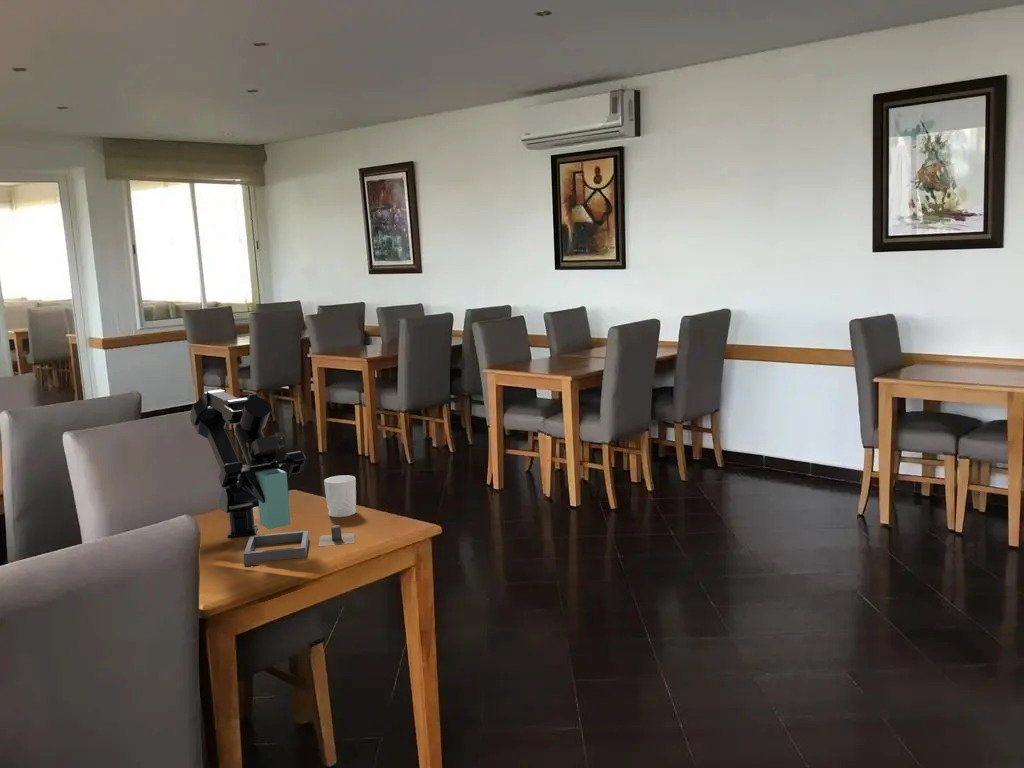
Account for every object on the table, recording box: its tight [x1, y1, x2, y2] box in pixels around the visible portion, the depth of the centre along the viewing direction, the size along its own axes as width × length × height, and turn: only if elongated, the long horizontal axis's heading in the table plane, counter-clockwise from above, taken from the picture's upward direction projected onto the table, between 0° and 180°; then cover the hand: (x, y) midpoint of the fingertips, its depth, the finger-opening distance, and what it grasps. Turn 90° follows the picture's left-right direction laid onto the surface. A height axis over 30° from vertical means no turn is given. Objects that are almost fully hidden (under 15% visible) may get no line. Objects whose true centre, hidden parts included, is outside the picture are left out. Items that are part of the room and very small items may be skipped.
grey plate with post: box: [318, 524, 355, 547], centre depth 200 cm, size 8×8×4 cm
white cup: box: [323, 474, 357, 518], centre depth 221 cm, size 8×8×10 cm
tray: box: [243, 530, 310, 568], centre depth 194 cm, size 13×13×3 cm
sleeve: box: [256, 469, 291, 530], centre depth 192 cm, size 5×5×12 cm
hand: (275, 499), depth 191 cm, fingers closed on sleeve, 5 cm apart
